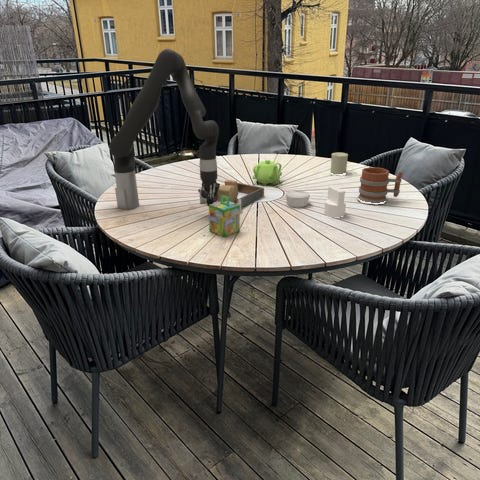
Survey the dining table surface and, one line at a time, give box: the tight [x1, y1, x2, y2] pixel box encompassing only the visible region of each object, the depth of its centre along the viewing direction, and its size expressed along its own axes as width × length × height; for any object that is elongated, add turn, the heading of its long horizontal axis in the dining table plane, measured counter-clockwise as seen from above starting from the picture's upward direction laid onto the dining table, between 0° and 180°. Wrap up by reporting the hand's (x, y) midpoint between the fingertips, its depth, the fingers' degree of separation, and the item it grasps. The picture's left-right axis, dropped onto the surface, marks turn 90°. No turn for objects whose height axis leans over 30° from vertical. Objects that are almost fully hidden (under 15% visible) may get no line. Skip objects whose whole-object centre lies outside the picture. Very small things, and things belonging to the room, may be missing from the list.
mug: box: [357, 166, 403, 203], centre depth 198 cm, size 14×19×15 cm
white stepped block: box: [323, 185, 347, 217], centre depth 183 cm, size 9×9×12 cm
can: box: [330, 152, 349, 174], centre depth 241 cm, size 9×9×12 cm
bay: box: [199, 182, 265, 214], centre depth 204 cm, size 26×24×4 cm
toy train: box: [217, 179, 239, 203], centre depth 198 cm, size 6×17×10 cm, turn 166°
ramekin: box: [285, 190, 311, 208], centre depth 197 cm, size 11×11×5 cm
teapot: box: [252, 159, 283, 187], centre depth 227 cm, size 16×14×13 cm
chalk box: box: [208, 195, 241, 238], centre depth 168 cm, size 9×9×15 cm
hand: (210, 206), depth 188 cm, fingers closed
